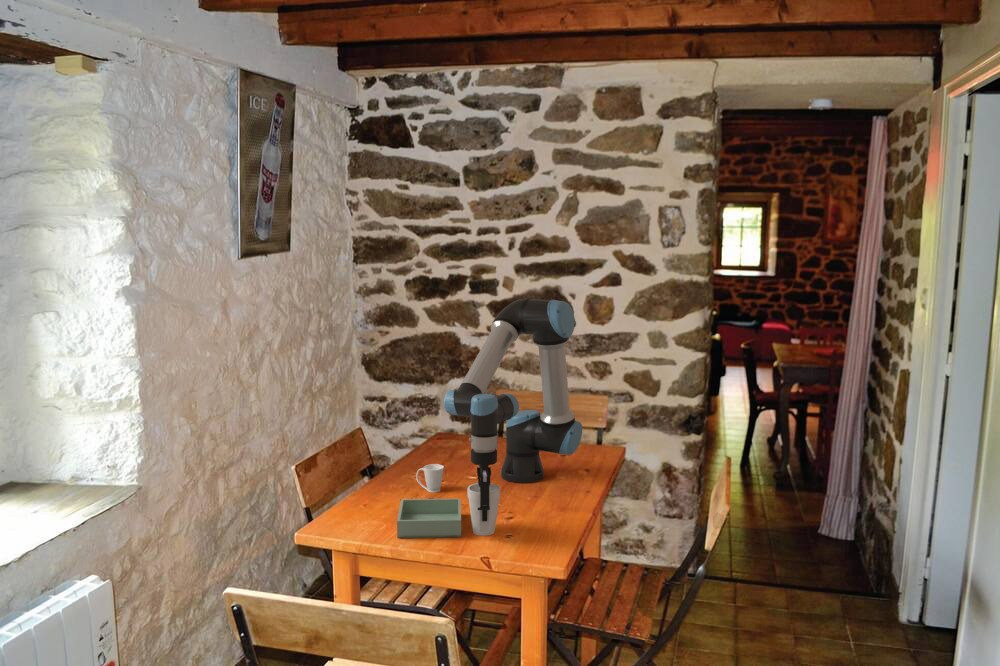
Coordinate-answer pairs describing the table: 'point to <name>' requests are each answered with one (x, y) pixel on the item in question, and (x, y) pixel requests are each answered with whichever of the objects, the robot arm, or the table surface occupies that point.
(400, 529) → the bin
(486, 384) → the robot arm
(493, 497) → the foam cup
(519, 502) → the table surface
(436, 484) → the cup
